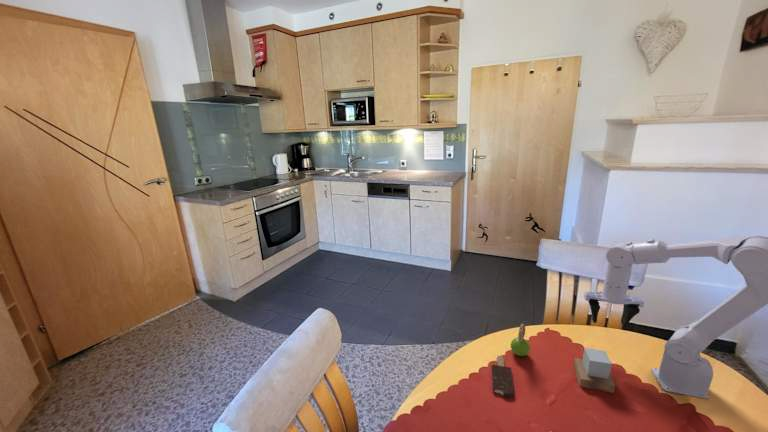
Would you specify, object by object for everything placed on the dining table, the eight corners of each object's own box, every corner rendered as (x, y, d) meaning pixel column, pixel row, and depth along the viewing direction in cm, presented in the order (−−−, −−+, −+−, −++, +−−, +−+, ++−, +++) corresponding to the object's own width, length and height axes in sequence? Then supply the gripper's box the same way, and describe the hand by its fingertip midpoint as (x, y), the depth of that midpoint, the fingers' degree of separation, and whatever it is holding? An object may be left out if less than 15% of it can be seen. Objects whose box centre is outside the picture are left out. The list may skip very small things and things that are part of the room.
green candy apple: (508, 359, 97) (511, 325, 94) (511, 345, 103) (514, 313, 99) (527, 364, 95) (531, 330, 91) (529, 350, 100) (533, 318, 97)
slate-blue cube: (602, 365, 90) (605, 350, 89) (608, 378, 86) (611, 363, 84) (582, 362, 92) (584, 347, 90) (587, 375, 87) (590, 360, 86)
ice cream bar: (490, 357, 99) (493, 396, 85) (491, 352, 99) (493, 391, 85) (508, 359, 98) (514, 400, 84) (509, 355, 97) (514, 395, 84)
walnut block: (604, 372, 92) (606, 363, 91) (613, 394, 85) (615, 385, 84) (573, 366, 94) (574, 357, 93) (579, 387, 87) (580, 378, 86)
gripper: (640, 279, 94) (631, 319, 98) (584, 274, 99) (578, 311, 103) (650, 291, 88) (641, 333, 92) (590, 285, 93) (583, 325, 97)
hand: (608, 322), depth 97 cm, fingers open, 7 cm apart
